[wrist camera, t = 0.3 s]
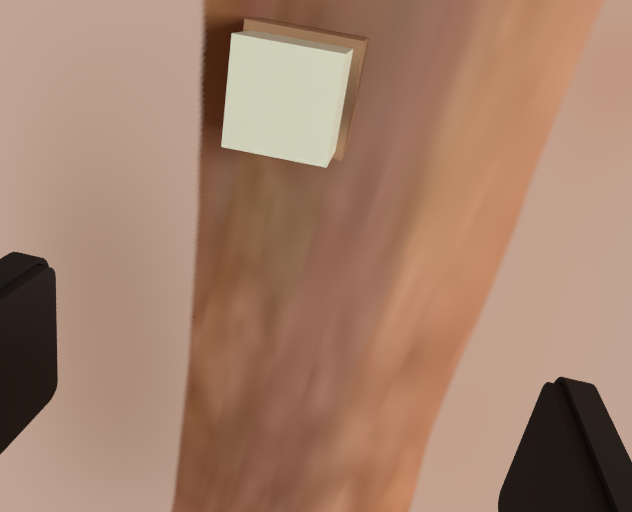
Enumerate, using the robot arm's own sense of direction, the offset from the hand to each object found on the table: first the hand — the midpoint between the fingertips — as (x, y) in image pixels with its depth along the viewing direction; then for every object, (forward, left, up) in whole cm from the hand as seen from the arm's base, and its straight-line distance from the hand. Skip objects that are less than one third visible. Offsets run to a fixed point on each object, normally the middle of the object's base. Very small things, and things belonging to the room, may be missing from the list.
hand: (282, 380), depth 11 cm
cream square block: (-1, -5, -26) cm, 27 cm away
